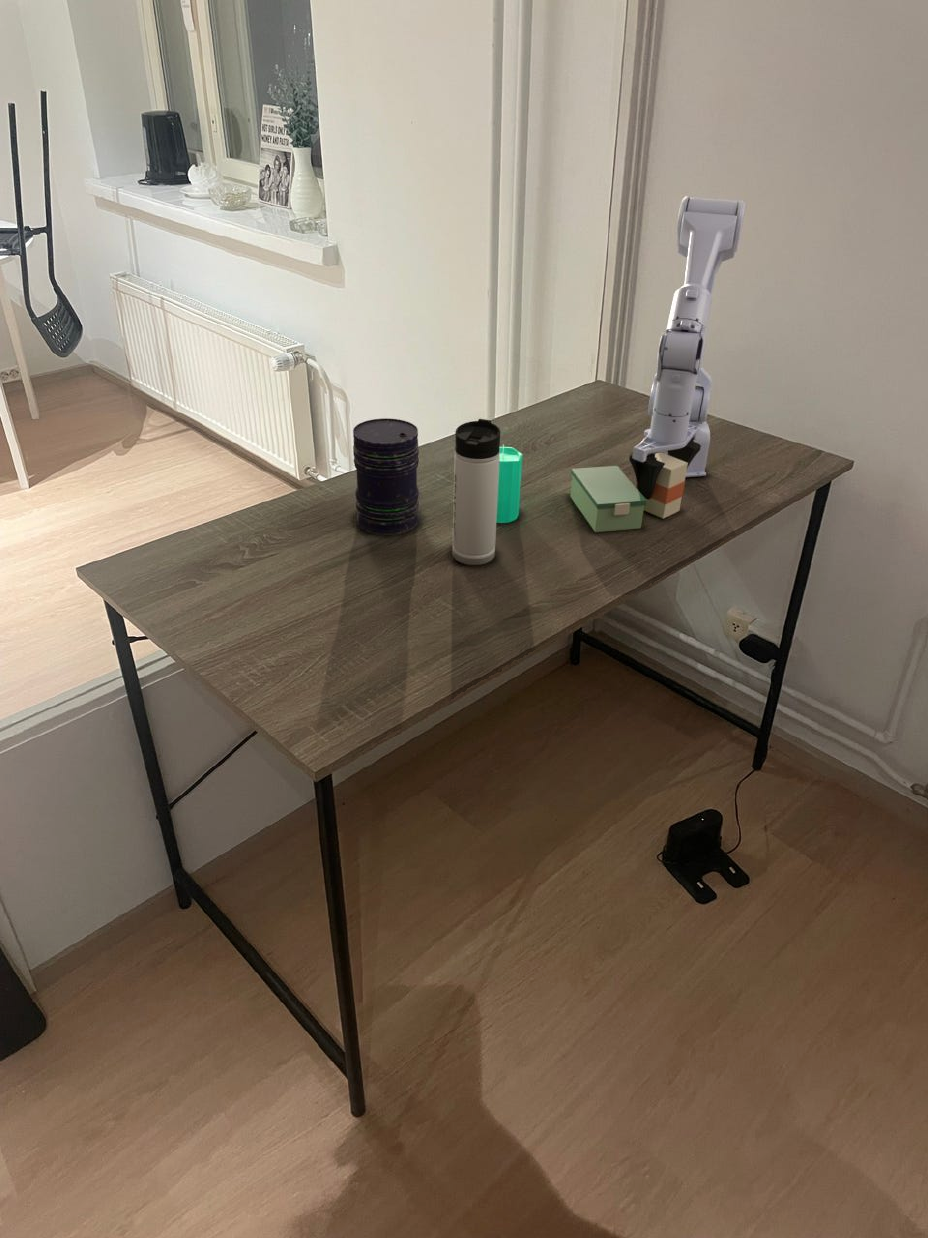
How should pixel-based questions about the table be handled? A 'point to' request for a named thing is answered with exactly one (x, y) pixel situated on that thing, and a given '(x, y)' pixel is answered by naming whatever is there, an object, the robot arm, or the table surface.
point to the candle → (509, 484)
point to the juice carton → (667, 487)
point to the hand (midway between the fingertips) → (659, 490)
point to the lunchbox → (607, 498)
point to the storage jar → (386, 475)
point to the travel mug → (475, 491)
